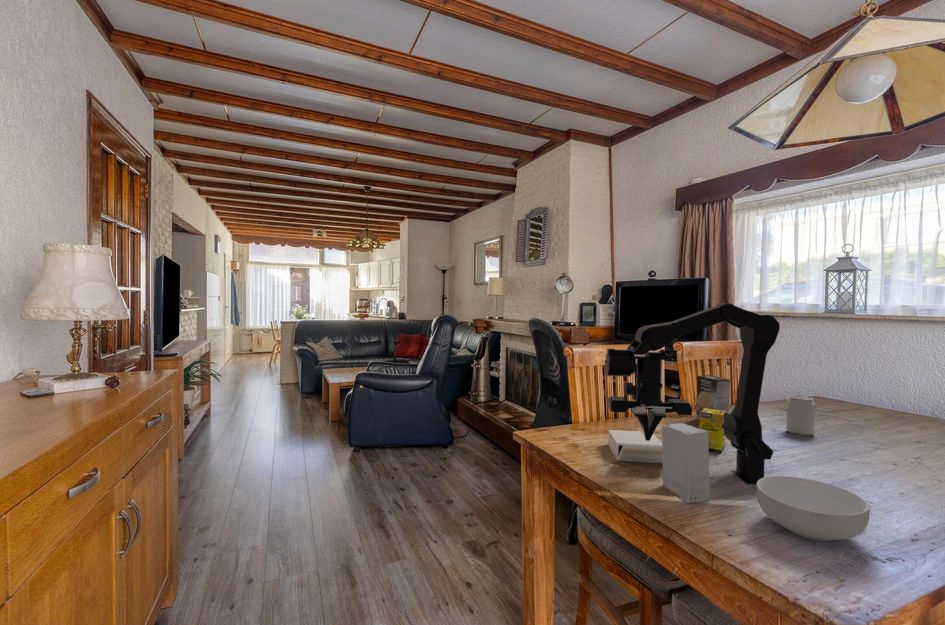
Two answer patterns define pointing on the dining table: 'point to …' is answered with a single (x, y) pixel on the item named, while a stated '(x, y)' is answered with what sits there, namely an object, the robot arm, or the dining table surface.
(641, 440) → the carton
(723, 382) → the coffee box
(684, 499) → the skincare box
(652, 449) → the flap
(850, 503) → the cereal bowl
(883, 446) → the dining table surface
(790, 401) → the can
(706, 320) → the robot arm
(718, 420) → the supplement box
